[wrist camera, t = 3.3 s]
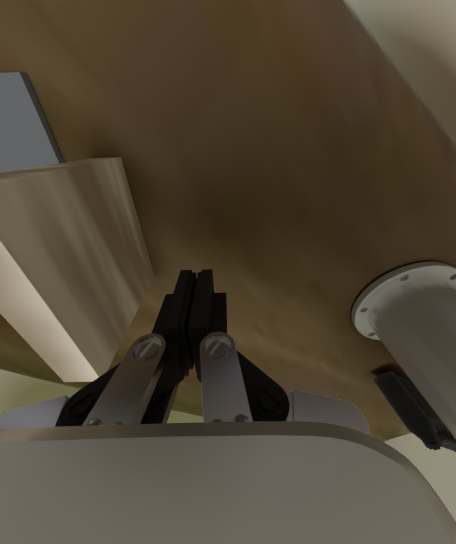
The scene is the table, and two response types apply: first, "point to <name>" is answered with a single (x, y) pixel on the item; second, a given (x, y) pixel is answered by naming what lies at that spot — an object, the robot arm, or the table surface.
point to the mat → (23, 127)
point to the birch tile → (71, 262)
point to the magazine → (415, 411)
